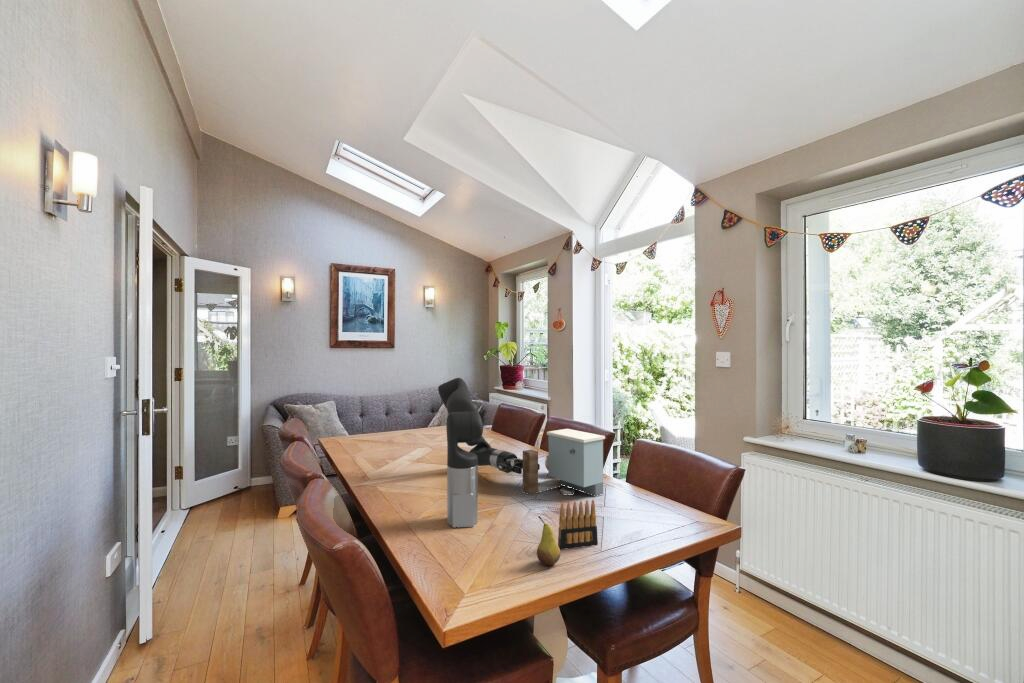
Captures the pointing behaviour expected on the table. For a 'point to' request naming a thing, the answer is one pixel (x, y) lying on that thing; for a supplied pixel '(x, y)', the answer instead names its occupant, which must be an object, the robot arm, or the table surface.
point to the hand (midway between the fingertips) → (530, 469)
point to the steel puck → (567, 490)
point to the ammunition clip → (577, 526)
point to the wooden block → (534, 474)
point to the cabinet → (577, 459)
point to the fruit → (548, 547)
